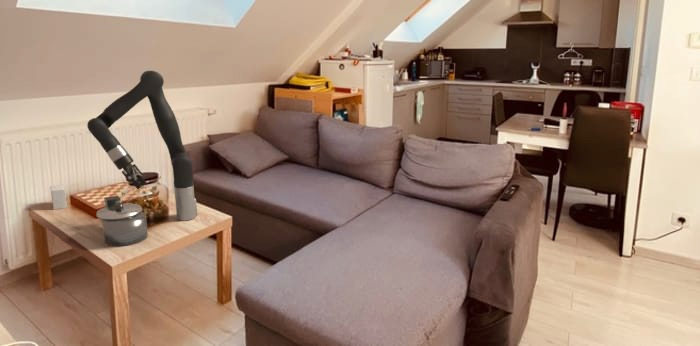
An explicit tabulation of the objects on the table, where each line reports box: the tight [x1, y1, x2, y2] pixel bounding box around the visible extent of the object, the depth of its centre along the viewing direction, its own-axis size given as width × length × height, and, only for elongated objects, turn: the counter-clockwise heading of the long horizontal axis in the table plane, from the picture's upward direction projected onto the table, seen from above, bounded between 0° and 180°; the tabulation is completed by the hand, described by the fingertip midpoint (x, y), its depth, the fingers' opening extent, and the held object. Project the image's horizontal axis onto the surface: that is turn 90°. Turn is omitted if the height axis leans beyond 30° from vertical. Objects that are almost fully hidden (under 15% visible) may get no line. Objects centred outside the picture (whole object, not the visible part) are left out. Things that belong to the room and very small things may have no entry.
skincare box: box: [49, 184, 68, 210], centre depth 250 cm, size 10×6×10 cm, turn 35°
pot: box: [101, 211, 149, 247], centre depth 212 cm, size 18×18×10 cm
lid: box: [96, 195, 143, 221], centre depth 217 cm, size 19×24×4 cm
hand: (142, 186), depth 215 cm, fingers open, 8 cm apart
